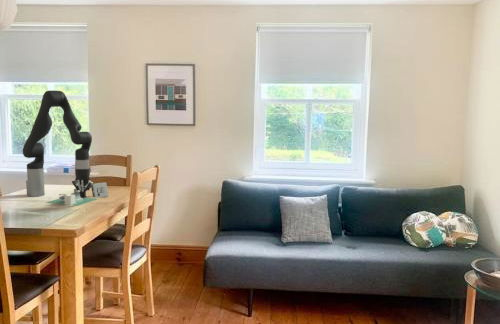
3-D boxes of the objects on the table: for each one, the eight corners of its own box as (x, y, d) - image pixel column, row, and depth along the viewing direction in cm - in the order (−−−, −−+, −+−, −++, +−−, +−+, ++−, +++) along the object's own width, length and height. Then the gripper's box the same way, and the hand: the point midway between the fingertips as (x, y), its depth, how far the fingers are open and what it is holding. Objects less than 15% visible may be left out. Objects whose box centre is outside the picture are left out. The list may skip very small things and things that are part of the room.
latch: (58, 203, 226) (58, 194, 226) (63, 202, 230) (63, 192, 229) (70, 205, 224) (70, 195, 224) (75, 203, 228) (75, 193, 228)
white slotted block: (60, 201, 231) (59, 196, 231) (70, 198, 240) (70, 193, 240) (73, 203, 229) (73, 197, 229) (83, 199, 238) (83, 194, 237)
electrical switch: (95, 199, 247) (94, 184, 246) (90, 198, 250) (89, 183, 249) (108, 196, 254) (107, 182, 253) (104, 196, 257) (103, 182, 257)
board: (44, 204, 229) (44, 192, 228) (67, 198, 247) (67, 187, 246) (78, 207, 223) (77, 195, 222) (99, 200, 242) (98, 189, 241)
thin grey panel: (78, 193, 242) (78, 191, 242) (82, 193, 241) (82, 191, 241) (59, 198, 226) (59, 196, 226) (64, 199, 226) (64, 197, 225)
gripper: (67, 167, 221) (68, 198, 224) (88, 169, 218) (88, 200, 220) (76, 165, 228) (77, 195, 231) (96, 167, 225) (97, 197, 227)
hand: (83, 197), depth 225 cm, fingers closed
